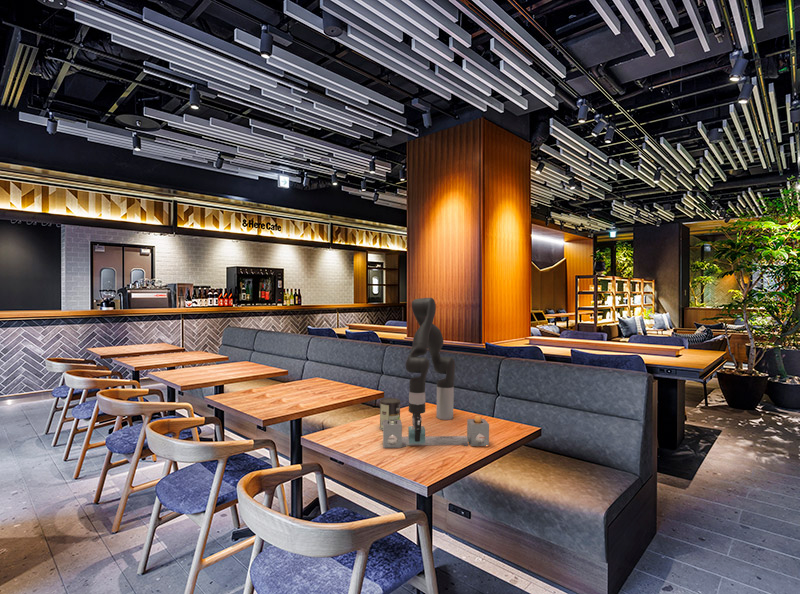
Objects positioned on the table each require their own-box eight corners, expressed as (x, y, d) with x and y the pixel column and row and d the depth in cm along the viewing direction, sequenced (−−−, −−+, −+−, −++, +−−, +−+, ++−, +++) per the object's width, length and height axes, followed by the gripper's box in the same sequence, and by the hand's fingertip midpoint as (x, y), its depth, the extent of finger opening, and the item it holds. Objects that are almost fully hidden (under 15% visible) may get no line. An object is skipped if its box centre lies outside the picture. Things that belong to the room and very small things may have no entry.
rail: (400, 442, 190) (400, 435, 190) (465, 441, 192) (465, 434, 192) (401, 446, 184) (401, 440, 184) (468, 446, 186) (468, 439, 186)
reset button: (474, 424, 190) (474, 415, 190) (480, 424, 191) (480, 415, 191) (475, 426, 188) (475, 417, 188) (481, 426, 188) (481, 416, 188)
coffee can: (401, 425, 214) (401, 398, 214) (398, 432, 203) (398, 403, 203) (381, 424, 215) (382, 397, 215) (377, 430, 205) (378, 402, 205)
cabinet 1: (382, 441, 190) (383, 418, 190) (400, 441, 191) (400, 418, 191) (383, 448, 181) (383, 424, 181) (401, 448, 182) (402, 424, 182)
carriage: (408, 439, 190) (408, 425, 190) (423, 439, 190) (423, 425, 190) (409, 443, 184) (409, 429, 184) (425, 443, 185) (425, 429, 185)
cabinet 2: (467, 440, 193) (467, 419, 193) (483, 440, 193) (484, 418, 193) (471, 447, 184) (471, 424, 184) (489, 447, 185) (489, 424, 185)
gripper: (407, 397, 194) (406, 433, 194) (410, 405, 180) (409, 444, 180) (423, 397, 194) (422, 433, 195) (427, 405, 180) (427, 444, 180)
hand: (416, 438), depth 187 cm, fingers closed on carriage, 5 cm apart
